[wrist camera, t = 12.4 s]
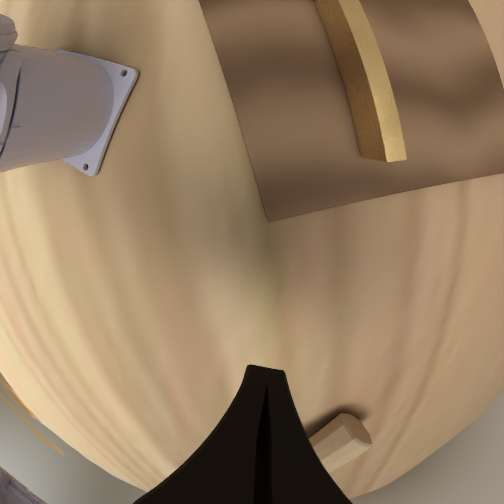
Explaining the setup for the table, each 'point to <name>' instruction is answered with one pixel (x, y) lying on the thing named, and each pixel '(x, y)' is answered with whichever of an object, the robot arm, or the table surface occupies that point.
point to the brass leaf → (364, 80)
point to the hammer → (340, 441)
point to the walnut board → (337, 105)
